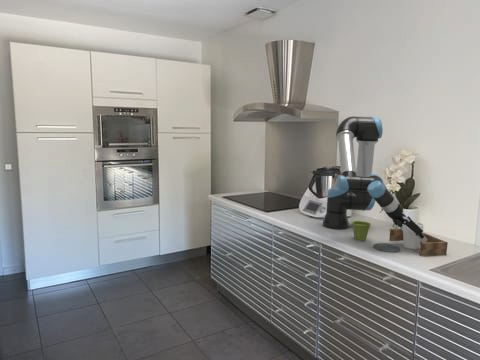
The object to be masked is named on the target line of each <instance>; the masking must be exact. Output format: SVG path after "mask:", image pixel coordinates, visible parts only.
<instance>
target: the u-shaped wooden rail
mask: <svg viewBox="0 0 480 360" xmlns="http://www.w3.org/2000/svg"><path fill="white" fill-rule="evenodd" d="M423 235H424V236H425V237H426V238H427V239H428V240H427V241H426V242H425V243H422V242H420V245H419V257H427V256H447V252H448V242H447V241H445V240H443V239H440V238H438V237H435V236H432V235H431V234H428V233H425V232H423ZM388 240H389V241H390V242H391V241H392V242H393V241H394V242H395V241H404V239H403V231H402V230H401V228H390V231H389V239H388Z"/></svg>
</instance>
